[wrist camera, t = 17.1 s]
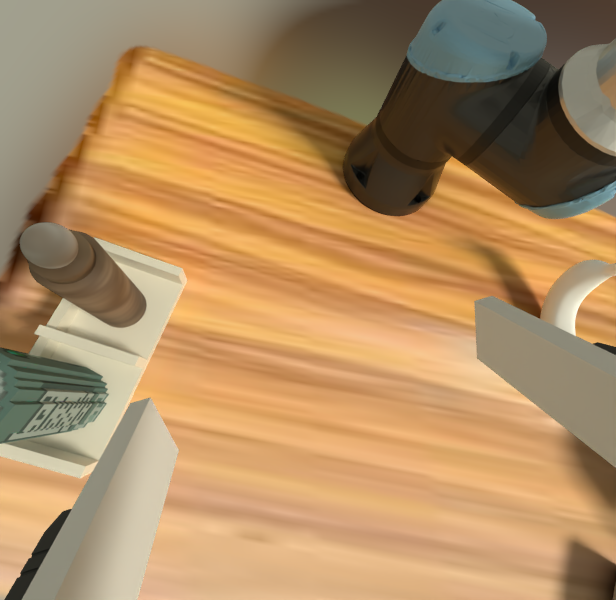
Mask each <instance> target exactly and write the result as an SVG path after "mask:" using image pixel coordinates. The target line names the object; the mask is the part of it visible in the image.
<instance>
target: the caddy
mask: <svg viewBox="0 0 616 600" xmlns="http://www.w3.org/2000/svg"><path fill="white" fill-rule="evenodd" d="M94 239H95V240H96V241H97V242H98V243H99V244H100V245H101V246H102V248H103V249H104V250H105V251H106V252H107V253H108V255H109V256H110V257H111V258H112V259H113V260H114V261H115V263H116V264H117V265H118V266H119V267H120V268H121V269H122V271H123V272H124V273H125V274H126V275H127V276H128V278H129V279H130V280H131V281H132V282H133V283H134V284H135V286H136V287H137V288H138V289H139V290H140V291H141V293H142V294H143V295H144V297H145V299H146V303H147V306H146V311H145V314H144V315H143V317H142V318H141V319H140V320H139V321H138V322H137V323H135V324H134V325H131V326H129V327H125V328H116V327H112V326H109V325H108V324H106V323H104V322H102V321H101V320H99V319H97V318H96V317H94V316H92V315H91V314H89V313H87V312H86V311H84V310H82V309H81V308H79V307H77V306H76V305H74V304H72V303H71V302H69V301H67V300H66V299H64V298H63V299H62V300H61V302H60V304H59V305H58V307H57V309H56V310H55V312H54V313H53V315H52V317H51V318H50V320H49V322H48V323H47V325H46V326H43V325H39V327H38V328H37V330H36V331H35V333H34V334H36V335H39V338H38V339H37V341H36V343H35V344H34V346H33V348H32V349H31V351H30V352H29V354H31V355H35V356H40V357H44V358H48V359H53V360H57V361H61V362H66V363H70V364H74V365H79V366H83V367H87V368H89V369H90V370H92V371H94V372H96V373H98V374H99V375H101V376H103V378H102V379H101V381H103V382H105V383H107V385H106V386H105V388H107V389H108V390H107V391H106V393H107V394H109V395H108V396H107V398H106V399H105V400H104V402H105V403H107V404H106V406H105V407H104V408H103V410H102V411H101V412H100V414H99V415H98V416H97V418H96V419H95V421H94V422H89V423H87V425H86V426H85V427H84V428H79V429H77V430H72V431H70V432H65V433H59V434H53V435H48V436H42V437H37V438H31V439H25V440H20V441H14V442H9V443H3V444H0V456H1V457H5V458H9V459H12V460H16V461H19V462H23V463H27V464H30V465H34V466H37V467H41V468H45V469H48V470H52V471H56V472H59V473H63V474H66V475H70V476H74V477H77V478H82V477H84V476H86V475H88V474H90V473H92V472H93V470H94V468H95V466H96V465H97V463H98V461H99V459H100V457H101V456H102V454H103V452H104V450H105V448H106V447H107V445H108V443H109V441H110V439H111V437H112V436H113V434H114V432H115V430H116V428H117V427H118V425H119V423H120V421H121V419H122V417H123V415H124V413H125V411H126V409H127V407H128V405H129V403H130V401H131V399H132V396H133V394H134V392H135V390H136V388H137V386H138V384H139V382H140V380H141V377H142V375H143V373H144V371H145V369H146V367H147V365H148V363H149V361H150V358H151V356H152V354H153V352H154V350H155V348H156V346H157V344H158V342H159V339H160V337H161V335H162V333H163V331H164V329H165V327H166V325H167V323H168V320H169V318H170V316H171V314H172V312H173V310H174V308H175V306H176V304H177V301H178V299H179V297H180V295H181V293H182V291H183V289H184V287H185V285H186V282H187V279H186V276H185V274H184V271H183V269H182V268H180V267H177V266H174V265H171V264H168V263H165V262H163V261H160V260H157V259H154V258H151V257H149V256H146V255H143V254H140V253H137V252H134V251H132V250H129V249H126V248H123V247H120V246H118V245H115V244H112V243H109V242H106V241H103V240H101V239H98V238H95V237H94Z"/></svg>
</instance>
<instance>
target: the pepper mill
mask: <svg viewBox="0 0 616 600" xmlns="http://www.w3.org/2000/svg"><path fill="white" fill-rule="evenodd" d="M20 248H21V251H22V253H23V255H24V256H25V257H26V258H27V260H28V263H29V269H30V272H31V274H32V276H33V277H34V279H35V280H36V281H37V282H38V283H39V284H41V285H42V286H44V287H46V288H47V289H49V290H51V291H52V292H54V293H56V294H57V295H59V296H61V297H62V298H64V299H66V300H67V301H69V302H71V303H72V304H74V305H76V306H77V307H79V308H81V309H82V310H84V311H86V312H87V313H89V314H91V315H92V316H94V317H96V318H97V319H99V320H101V321H102V322H104V323H106V324H108V325H109V326H112V327H116V328H125V327H129V326H131V325H134V324H135V323H137V322H138V321H139V320H140V319H141V318H142V317H143V315H144V314H145V311H146V306H147V303H146V299H145V297H144V295H143V294H142V293H141V291H140V290H139V289H138V288H137V287H136V286H135V284H134V283H133V282H132V281H131V280H130V279H129V278H128V276H127V275H126V274H125V273H124V272H123V271H122V269H121V268H120V267H119V266H118V265H117V264H116V263H115V261H114V260H113V259H112V258H111V257H110V256H109V255H108V253H107V252H106V251H105V250H104V249H103V248H102V246H101V245H100V244H99V243H98V242H97V241H96V240H95V239H94V238H93V237H91V236H89V235H87V234H85V233H82V232H77V231H72V230H68V229H67V228H65V227H63V226H61V225H59V224H55V223H50V222H43V223H37V224H34V225H32V226H30V227H28V228H27V229H26V230H25V231H24V232H23V234H22V235H21V238H20Z"/></svg>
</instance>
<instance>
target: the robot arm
mask: <svg viewBox="0 0 616 600" xmlns="http://www.w3.org/2000/svg"><path fill="white" fill-rule="evenodd" d="M546 42H547V35H546V31H545V29H544V27H543V25H542V24H541V23H539V22H537V21H535V16H534V14H532V13H531V12H530V11H528V10H527V9H526V8H524V7H522V6H521V5H519V4H518V3H516V2H513V1H512V0H442V1H441V2H439V3H438V4H437V5H436V6H435V7H434V8H433V9H432V10H431V12H430V13H429V15H428V16H427V18H426V20H425V21H424V23H423V25H422V27H421V29H420V30H419V33H418V34H417V36H416V38H415V39H414V40H413V41H412V42H411V44H410V46H409V48H408V52H407V56H406V58H405V60H404V62H403V64H402V66H401V68H400V70H399V72H398V74H397V76H396V78H395V80H394V82H393V84H392V86H391V88H390V90H389V93H388V95H387V97H386V99H385V101H384V103H383V105H382V107H381V109H380V111H379V113H378V115H377V117H376V118H375V119H374V120H373V121H372V122H371V123H370V124H368V125H367V126H366V127H365V128H364V129H363V130H362V131H361V132H360V133H359V134H358V135H357V136H356V137H355V138H354V140H353V141H352V143H351V144H350V146H349V149H348V151H347V153H346V155H345V158H344V163H343V170H344V176H345V179H346V182H347V184H348V186H349V188H350V190H351V191H352V192H353V194H354V195H355V196H356V197H357V198H358V199H359V200H360V201H361V202H362V203H363V204H365V205H366V206H367V207H369V208H371V209H372V210H374V211H377V212H379V213H382V214H385V215H391V216H404V215H408V214H411V213H414V212H416V211H417V210H419V209H420V208H421V207H422V206H423V205H424V204H425V203H426V202H427V201H428V200H429V199H430V198H431V196H432V195H433V193H434V191H435V189H436V187H437V184H438V181H439V179H440V176H441V174H442V171H443V169H444V166H445V164H446V162H447V161H448V160H449V159H450V158H451V157H452V156H453V157H454V158H455V159H457V160H458V161H460V162H461V163H463V164H464V165H466V166H467V167H468V168H470V169H471V170H472V171H474V172H475V173H477V174H478V175H479V176H481V177H482V178H483V179H485V180H486V181H487V182H489V183H490V184H492V185H493V186H494V187H496V188H497V189H498V190H500V191H501V192H503V193H504V194H505V195H507V196H508V197H509V198H511V199H512V200H514V202H515V203H516V204H518V205H519V206H521V207H523V208H526V209H529V210H530V211H532V212H534V213H535V214H537V215H539V216H541V217H544V218H548V219H563V218H568V217H572V216H576V215H579V214H582V213H585V212H587V211H590V210H592V209H594V208H596V207H598V206H600V205H602V204H604V203H605V202H607V201H609V200H610V199H612V198H614V195H615V193H616V39H615V40H613V41H612V42H611V43H610V44H604V45H593V46H590V47H586V48H584V49H582V50H580V51H578V52H577V53H576V54H575V55H573V56H572V57H571V58H570V59H569V60H568V61H567V62H566V63H565V64H564V65H563V66H562V67H561V68H560V69H559V70H558V69H557V68H555V67H554V66H552V65H551V64H549V63H548V62H547V61H545V60H544V59H542V58H541V56H542V55H543V51H544V49H545V46H546ZM475 323H476V345H477V359H479V360H480V361H481V362H482V363H484V364H485V365H486V366H488V367H489V368H490V369H491V370H493V371H494V372H495V373H496V374H498V375H499V376H500V377H501V378H503V379H504V380H505V381H506V382H508V383H509V384H510V385H512V386H513V387H514V388H515V389H517V390H518V391H519V392H520V393H522V394H523V395H524V396H525V397H527V398H528V399H529V400H530V401H532V402H533V403H534V404H536V405H537V406H538V407H539V408H541V409H542V410H543V411H544V412H546V413H547V414H548V415H549V416H551V417H552V418H553V419H555V420H556V421H557V422H558V423H560V424H561V425H562V426H563V427H565V428H566V429H567V430H568V431H570V432H571V433H572V434H573V435H575V436H576V437H577V438H579V439H580V440H581V441H582V442H584V443H585V444H586V445H587V446H589V447H590V448H591V449H592V450H594V451H595V452H596V453H597V454H599V455H600V456H601V457H603V458H604V459H605V460H606V461H608V462H609V463H610V464H611V465H613V466H614V467H615V468H616V347H613V346H609V345H606V344H602V343H598V342H597V343H594V344H591V343H589V342H587V341H585V340H583V339H581V338H579V337H577V336H575V335H573V334H570V333H568V332H566V331H564V330H562V329H560V328H558V327H556V326H554V325H552V324H550V323H548V322H546V321H543V320H541V319H539V318H537V317H535V316H533V315H531V314H529V313H527V312H525V311H523V310H521V309H518V308H516V307H514V306H512V305H510V304H508V303H506V302H504V301H502V300H500V299H498V298H496V297H493V296H490V297H487V298H483V299H480V300H477V301H475ZM178 451H179V450H178V448H177V446H176V445H175V443H174V441H173V439H172V437H171V435H170V433H169V431H168V429H167V428H166V426H165V424H164V422H163V420H162V418H161V416H160V414H159V413H158V411H157V409H156V407H155V405H154V403H153V401H152V399H151V398H147V399H144V400H141V401H137V402H134V403H130V405H129V407H128V409H127V410H126V412H125V414H124V416H123V418H122V419H121V421H120V423H119V425H118V427H117V428H116V430H115V432H114V434H113V436H112V437H111V439H110V441H109V443H108V445H107V447H106V448H105V450H104V452H103V454H102V456H101V457H100V459H99V461H98V463H97V465H96V466H95V468H94V470H93V472H92V474H91V475H90V477H89V479H88V481H87V483H86V484H85V486H84V488H83V490H82V492H81V493H80V495H79V497H78V499H77V501H76V502H75V504H74V506H73V508H72V509H69V510H66V511H63V512H62V513H61V514H60V515H59V516H58V518H57V519H56V520H55V521H54V522H53V523H52V524H51V526H50V527H49V528H48V529H47V530H46V531H45V532H44V534H43V536H42V537H41V539H40V541H39V542H38V544H37V546H36V548H35V549H34V551H33V553H32V557H31V558H29V559H28V561H27V563H26V564H25V566H24V568H23V569H22V571H21V576H20V577H19V578H17V579H16V581H15V583H14V584H13V586H12V588H11V590H10V591H9V593H8V595H7V596H6V598H5V600H137V599H138V596H139V592H140V589H141V585H142V581H143V578H144V574H145V570H146V567H147V563H148V560H149V556H150V552H151V549H152V545H153V542H154V538H155V534H156V531H157V527H158V524H159V520H160V516H161V513H162V509H163V506H164V502H165V498H166V495H167V491H168V488H169V484H170V480H171V477H172V473H173V469H174V466H175V462H176V459H177V455H178Z"/></svg>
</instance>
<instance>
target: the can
mask: <svg viewBox="0 0 616 600" xmlns="http://www.w3.org/2000/svg"><path fill="white" fill-rule="evenodd" d="M102 378H103V376H101V375H99V374H98V373H96V372H94V371H92V370H90V369H89V368H87V367H83V366H79V365H74V364H70V363H66V362H61V361H57V360H53V359H48V358H44V357H40V356H35V355H31V354H27V353H22V352H18V351H13V350H9V349H5V348H0V444H3V443H9V442H14V441H20V440H25V439H31V438H37V437H42V436H48V435H53V434H59V433H65V432H70V431H72V430H77V429H79V428H84V427H85V426H86V425H87V423H89V422H94V421H95V419H96V418H97V416H98V415H99V414H100V412H101V411H102V410H103V408H104V407H105V406H106V404H107V403H105V402H104V400H105V399H106V398H107V396H108V395H109V394H107V393H106V391H107V390H108V389H107V388H105V386H106V385H107V383H105V382H103V381H101V379H102Z"/></svg>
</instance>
